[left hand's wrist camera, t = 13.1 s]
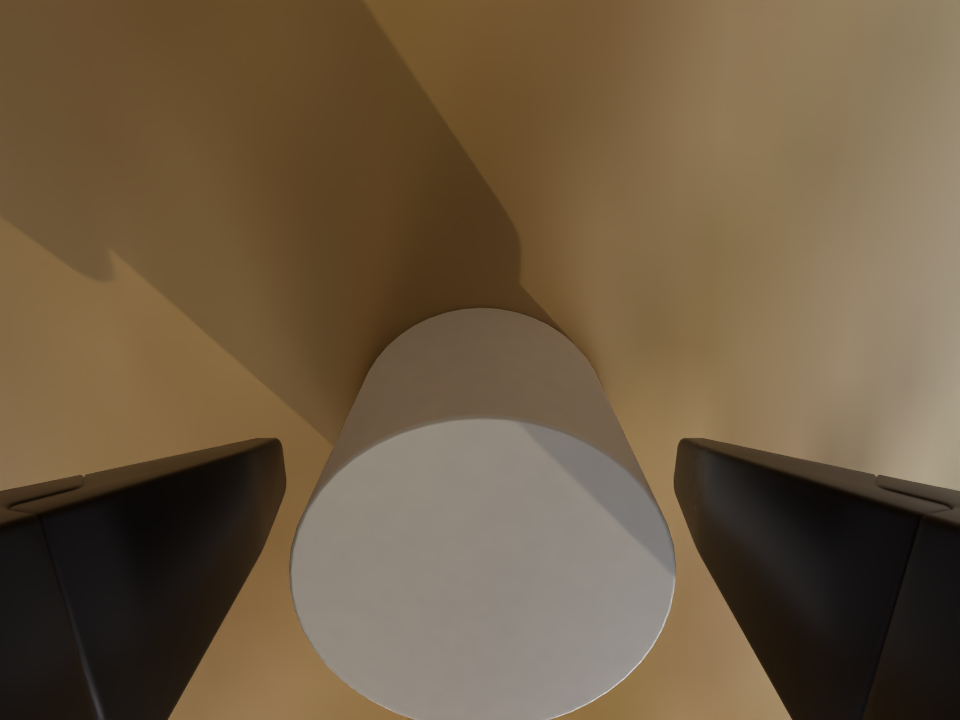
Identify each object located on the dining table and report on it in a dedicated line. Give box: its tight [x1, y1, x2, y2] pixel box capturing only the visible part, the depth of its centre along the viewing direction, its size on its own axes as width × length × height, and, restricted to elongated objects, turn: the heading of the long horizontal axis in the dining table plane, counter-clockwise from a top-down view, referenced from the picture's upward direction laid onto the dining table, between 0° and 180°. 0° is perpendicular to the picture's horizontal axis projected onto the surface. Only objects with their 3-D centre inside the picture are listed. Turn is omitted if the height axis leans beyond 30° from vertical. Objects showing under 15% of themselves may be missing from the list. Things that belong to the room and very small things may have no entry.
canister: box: [289, 308, 676, 720], centre depth 10 cm, size 5×5×5 cm
